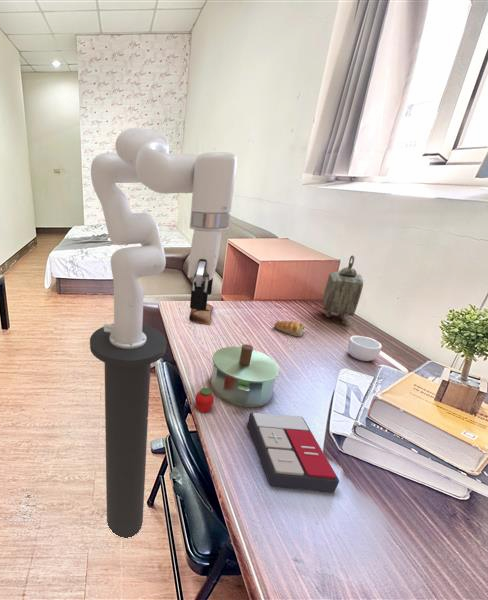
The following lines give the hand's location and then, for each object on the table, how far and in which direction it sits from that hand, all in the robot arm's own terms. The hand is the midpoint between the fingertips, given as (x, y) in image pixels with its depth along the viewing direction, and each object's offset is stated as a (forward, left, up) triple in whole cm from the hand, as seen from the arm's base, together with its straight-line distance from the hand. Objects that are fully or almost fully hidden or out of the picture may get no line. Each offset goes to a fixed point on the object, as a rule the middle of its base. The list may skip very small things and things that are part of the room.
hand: (201, 300), depth 68 cm
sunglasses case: (-4, +54, -27) cm, 60 cm away
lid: (+11, +9, -19) cm, 24 cm away
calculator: (+20, -10, -27) cm, 35 cm away
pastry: (+27, +50, -27) cm, 63 cm away
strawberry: (+3, -2, -27) cm, 27 cm away
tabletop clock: (+44, +69, -27) cm, 86 cm away
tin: (+11, +9, -27) cm, 30 cm away
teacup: (+45, +40, -27) cm, 66 cm away
